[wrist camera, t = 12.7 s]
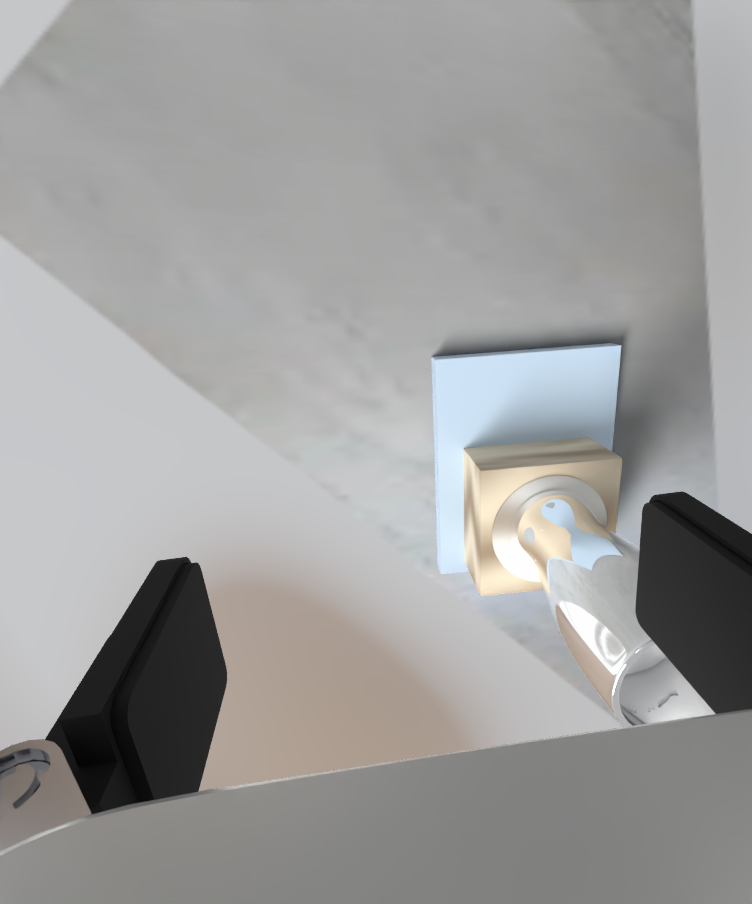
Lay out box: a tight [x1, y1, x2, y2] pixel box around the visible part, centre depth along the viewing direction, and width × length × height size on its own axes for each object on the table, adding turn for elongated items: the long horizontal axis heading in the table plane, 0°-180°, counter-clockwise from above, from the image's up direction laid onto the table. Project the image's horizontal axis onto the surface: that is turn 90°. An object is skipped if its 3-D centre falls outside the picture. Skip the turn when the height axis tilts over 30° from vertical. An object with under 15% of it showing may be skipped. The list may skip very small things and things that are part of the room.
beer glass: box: [510, 490, 715, 727], centre depth 30 cm, size 7×7×15 cm
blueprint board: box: [432, 343, 621, 574], centre depth 42 cm, size 18×14×2 cm
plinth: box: [463, 437, 623, 596], centre depth 39 cm, size 10×10×5 cm
